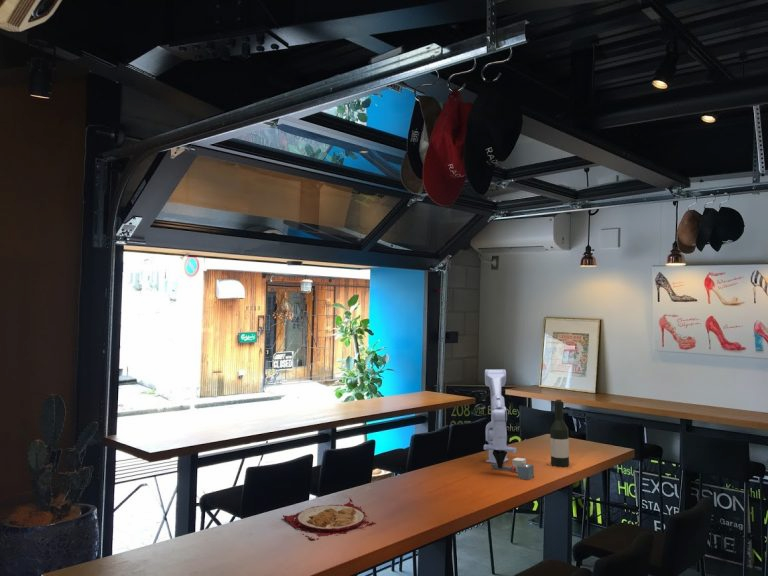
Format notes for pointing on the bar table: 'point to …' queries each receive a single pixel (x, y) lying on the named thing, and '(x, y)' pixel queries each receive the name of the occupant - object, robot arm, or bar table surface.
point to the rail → (501, 468)
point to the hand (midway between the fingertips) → (500, 467)
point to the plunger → (514, 469)
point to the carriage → (518, 461)
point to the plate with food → (329, 519)
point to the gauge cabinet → (525, 471)
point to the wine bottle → (559, 438)
